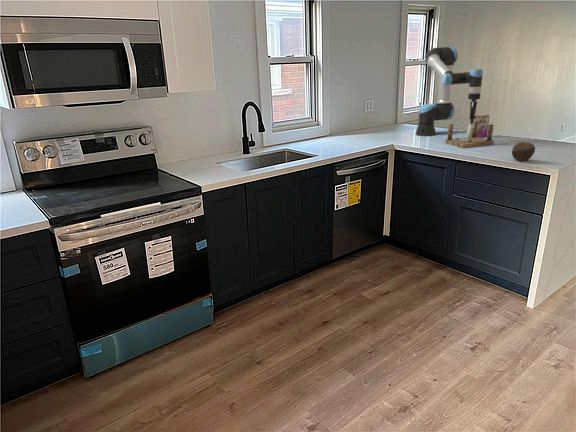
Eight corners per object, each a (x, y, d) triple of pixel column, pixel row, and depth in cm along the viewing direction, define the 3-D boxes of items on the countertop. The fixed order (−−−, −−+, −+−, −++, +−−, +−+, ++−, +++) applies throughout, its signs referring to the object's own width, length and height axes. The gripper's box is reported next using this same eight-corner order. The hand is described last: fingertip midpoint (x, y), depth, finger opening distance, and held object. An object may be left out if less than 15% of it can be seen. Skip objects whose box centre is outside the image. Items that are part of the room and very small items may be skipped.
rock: (514, 155, 238) (507, 142, 244) (512, 166, 247) (505, 154, 252) (537, 149, 236) (530, 136, 242) (534, 160, 244) (527, 148, 250)
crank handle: (454, 141, 291) (456, 125, 287) (454, 141, 294) (455, 125, 290) (471, 141, 288) (473, 125, 284) (471, 141, 290) (472, 125, 286)
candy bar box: (471, 138, 313) (473, 115, 308) (469, 136, 318) (471, 114, 312) (487, 137, 312) (489, 115, 306) (485, 136, 317) (487, 114, 311)
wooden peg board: (445, 143, 302) (446, 124, 297) (474, 139, 307) (476, 121, 302) (462, 148, 283) (464, 128, 279) (493, 144, 289) (495, 124, 284)
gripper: (470, 92, 292) (467, 126, 300) (467, 94, 281) (464, 129, 289) (481, 92, 288) (478, 126, 296) (479, 93, 278) (475, 129, 286)
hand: (471, 128), depth 293 cm, fingers closed
